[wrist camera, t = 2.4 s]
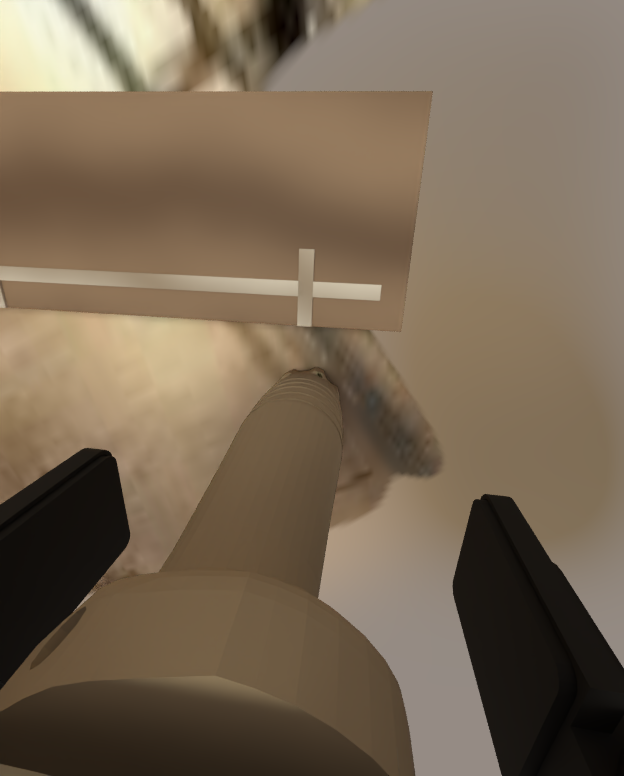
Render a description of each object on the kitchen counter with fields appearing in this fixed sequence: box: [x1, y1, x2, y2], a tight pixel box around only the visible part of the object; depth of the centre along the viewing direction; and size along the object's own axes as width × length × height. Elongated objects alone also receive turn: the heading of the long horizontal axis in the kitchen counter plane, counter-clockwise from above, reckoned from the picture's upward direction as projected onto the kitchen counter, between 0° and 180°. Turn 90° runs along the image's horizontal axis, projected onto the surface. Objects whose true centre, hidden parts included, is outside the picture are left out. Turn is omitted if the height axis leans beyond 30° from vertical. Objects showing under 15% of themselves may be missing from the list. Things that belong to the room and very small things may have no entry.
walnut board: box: [0, 91, 433, 332], centre depth 15 cm, size 8×22×3 cm, turn 87°
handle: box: [0, 367, 415, 776], centre depth 11 cm, size 5×6×15 cm
